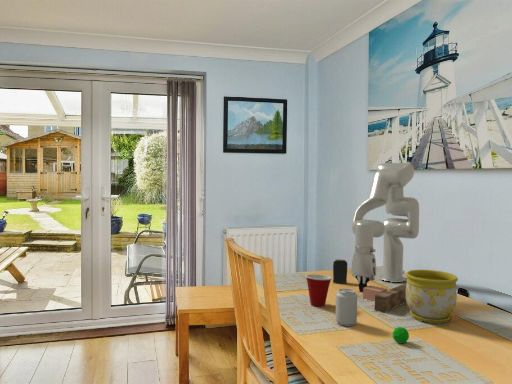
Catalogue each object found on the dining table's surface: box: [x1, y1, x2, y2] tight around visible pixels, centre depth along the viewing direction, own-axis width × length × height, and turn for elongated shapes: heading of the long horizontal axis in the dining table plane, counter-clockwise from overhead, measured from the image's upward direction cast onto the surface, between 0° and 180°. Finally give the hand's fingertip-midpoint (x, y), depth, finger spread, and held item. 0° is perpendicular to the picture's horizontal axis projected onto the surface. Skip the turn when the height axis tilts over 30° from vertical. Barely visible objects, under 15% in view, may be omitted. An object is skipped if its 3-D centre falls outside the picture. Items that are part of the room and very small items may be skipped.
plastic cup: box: [304, 273, 333, 308], centre depth 179 cm, size 11×11×12 cm
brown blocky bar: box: [374, 282, 407, 313], centre depth 181 cm, size 28×4×6 cm, turn 137°
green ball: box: [392, 326, 410, 344], centre depth 140 cm, size 5×5×5 cm
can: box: [334, 288, 358, 327], centre depth 157 cm, size 8×8×12 cm
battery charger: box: [332, 258, 348, 284], centre depth 216 cm, size 7×4×11 cm, turn 83°
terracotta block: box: [362, 285, 388, 302], centre depth 187 cm, size 6×8×5 cm
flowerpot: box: [405, 269, 459, 324], centre depth 164 cm, size 18×18×16 cm
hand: (362, 291), depth 192 cm, fingers closed
